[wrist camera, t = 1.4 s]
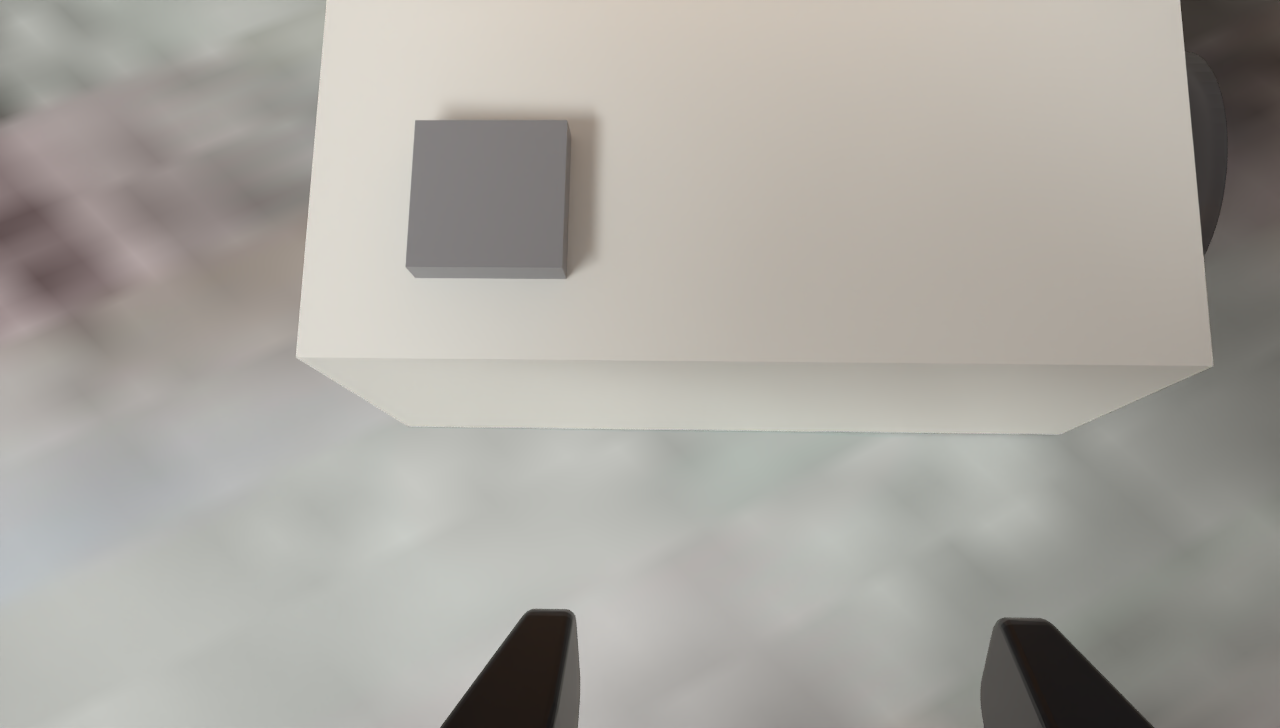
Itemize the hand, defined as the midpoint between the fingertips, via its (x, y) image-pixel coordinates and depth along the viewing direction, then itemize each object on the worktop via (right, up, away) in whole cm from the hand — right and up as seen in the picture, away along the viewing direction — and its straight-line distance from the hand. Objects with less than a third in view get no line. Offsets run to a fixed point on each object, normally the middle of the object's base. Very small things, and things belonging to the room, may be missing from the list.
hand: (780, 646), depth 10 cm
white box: (+1, +5, +15) cm, 16 cm away
